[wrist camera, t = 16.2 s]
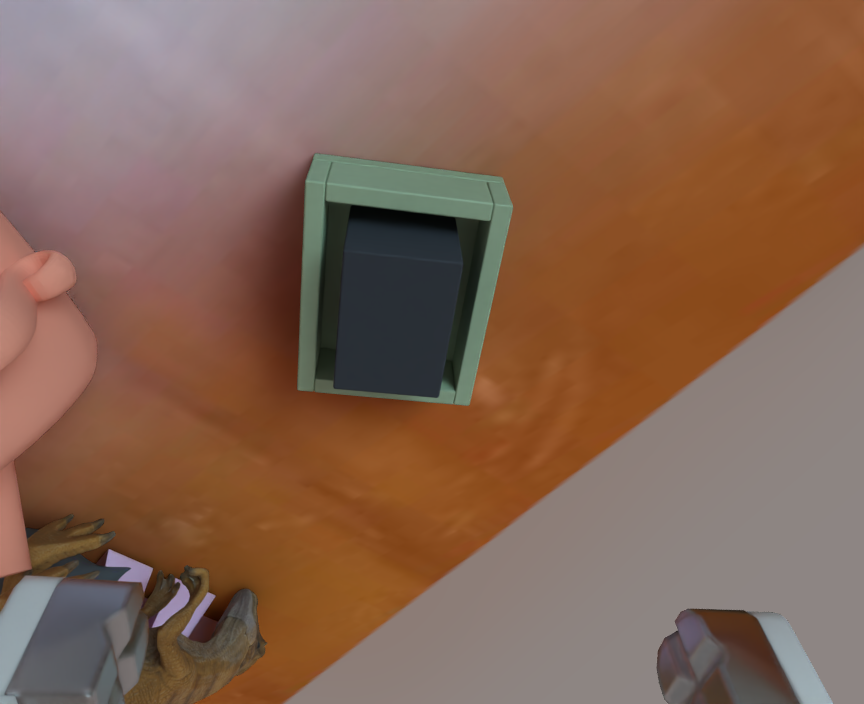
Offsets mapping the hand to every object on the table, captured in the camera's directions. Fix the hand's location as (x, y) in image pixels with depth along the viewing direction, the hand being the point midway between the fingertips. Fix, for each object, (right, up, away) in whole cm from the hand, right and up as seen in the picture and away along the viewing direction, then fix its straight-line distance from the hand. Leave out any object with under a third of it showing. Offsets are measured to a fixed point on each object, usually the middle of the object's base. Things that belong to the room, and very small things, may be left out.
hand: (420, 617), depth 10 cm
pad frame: (-1, +7, +14) cm, 15 cm away
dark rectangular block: (-1, +7, +13) cm, 15 cm away
